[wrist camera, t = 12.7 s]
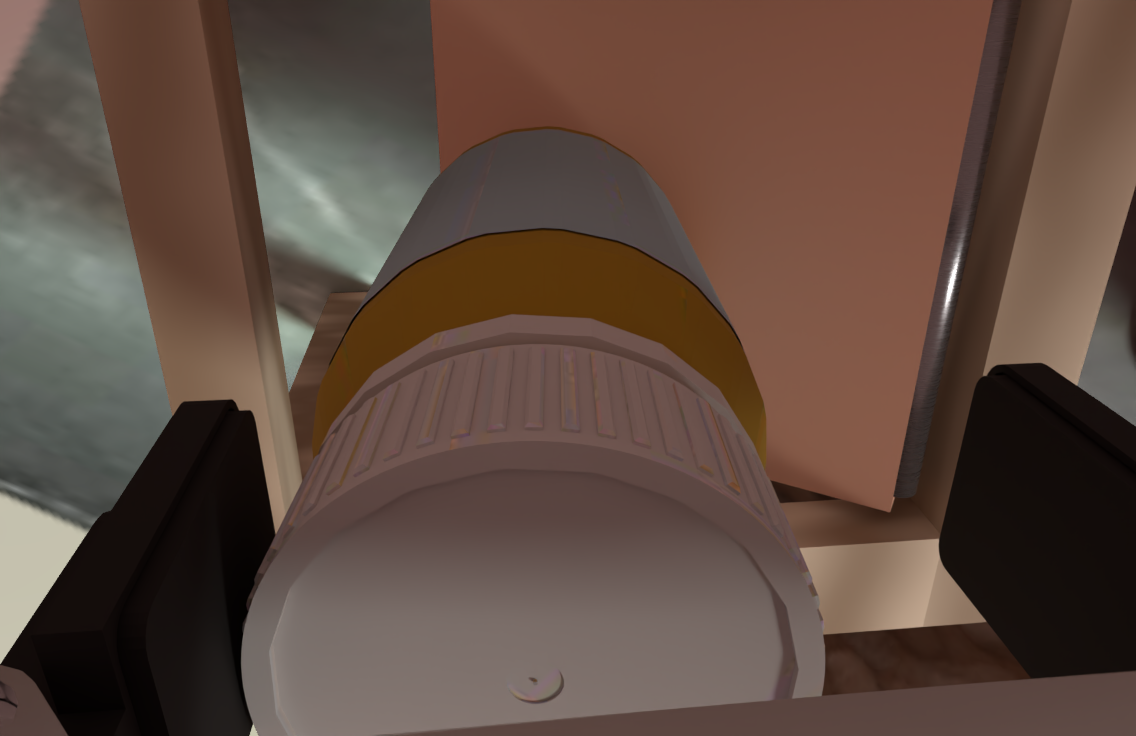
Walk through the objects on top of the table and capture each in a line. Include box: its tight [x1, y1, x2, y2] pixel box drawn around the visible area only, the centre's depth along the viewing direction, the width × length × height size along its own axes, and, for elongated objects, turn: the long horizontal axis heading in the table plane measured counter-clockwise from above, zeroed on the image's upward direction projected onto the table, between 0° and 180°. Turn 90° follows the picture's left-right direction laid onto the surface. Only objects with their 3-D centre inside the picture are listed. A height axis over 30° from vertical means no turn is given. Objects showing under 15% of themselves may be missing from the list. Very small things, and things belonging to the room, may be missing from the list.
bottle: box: [241, 126, 825, 736], centre depth 16 cm, size 7×7×15 cm
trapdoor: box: [430, 0, 1022, 512], centre depth 23 cm, size 14×14×1 cm
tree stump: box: [770, 480, 1031, 696], centre depth 39 cm, size 13×13×20 cm
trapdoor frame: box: [79, 0, 1136, 635], centre depth 28 cm, size 21×21×21 cm
